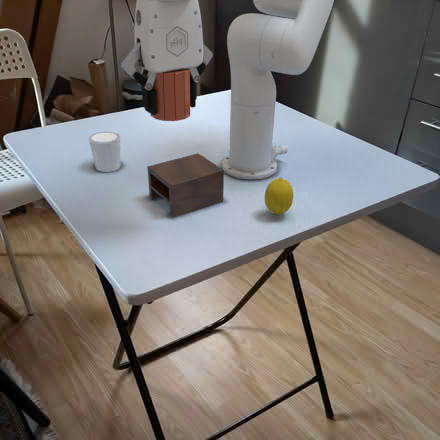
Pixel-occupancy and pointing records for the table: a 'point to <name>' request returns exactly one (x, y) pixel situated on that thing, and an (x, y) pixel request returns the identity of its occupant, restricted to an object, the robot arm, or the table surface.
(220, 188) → the shelf
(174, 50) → the robot arm
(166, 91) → the cup
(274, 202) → the lemon
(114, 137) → the white short cylinder
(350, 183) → the table surface
